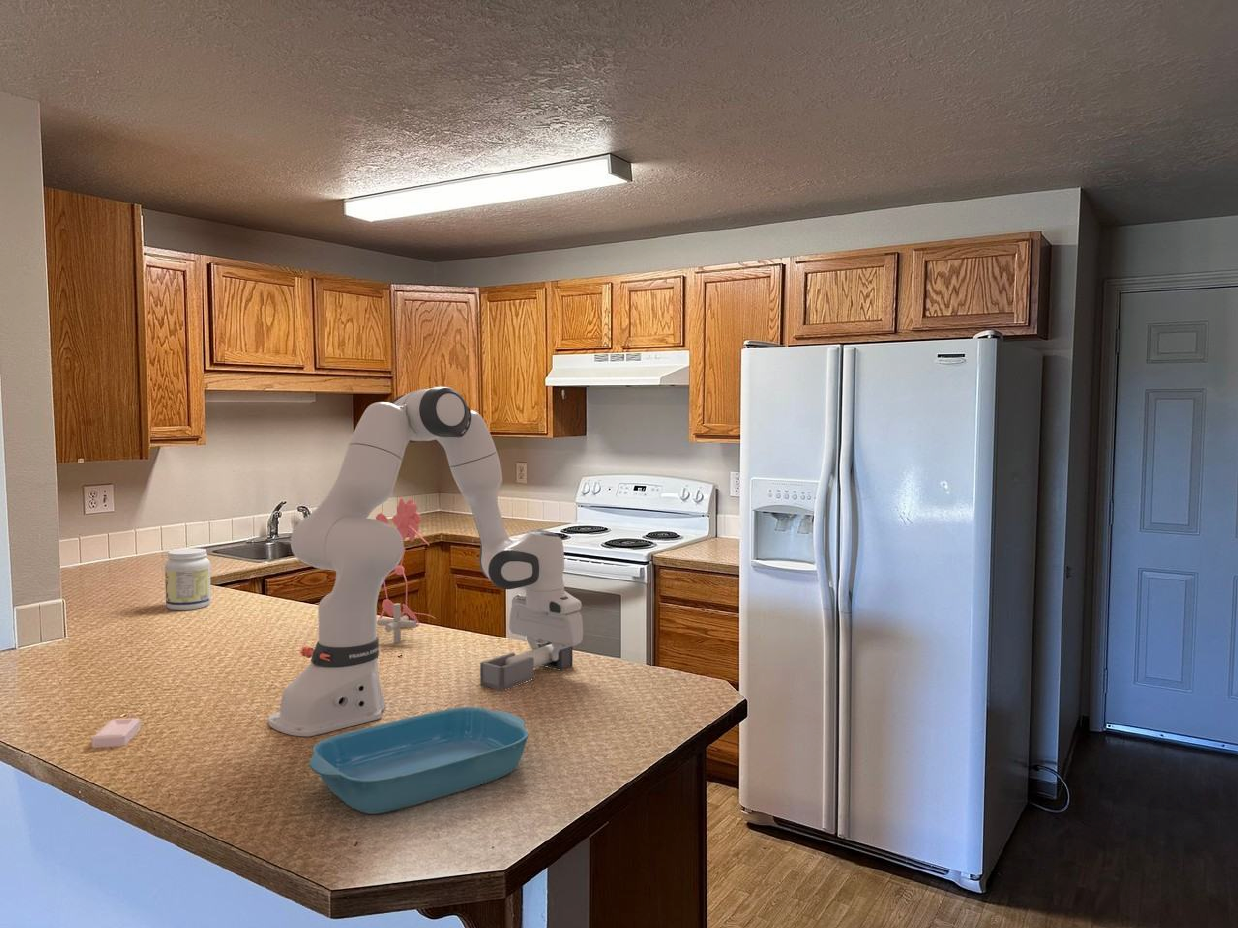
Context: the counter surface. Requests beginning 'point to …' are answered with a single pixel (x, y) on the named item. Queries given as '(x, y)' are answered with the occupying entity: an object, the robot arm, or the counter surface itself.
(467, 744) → the casserole dish
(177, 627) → the counter surface
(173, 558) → the supplement tub
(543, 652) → the slip tube
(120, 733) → the soap bar
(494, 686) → the sleeve
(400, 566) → the figurine
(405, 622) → the pipe connector
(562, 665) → the socket
